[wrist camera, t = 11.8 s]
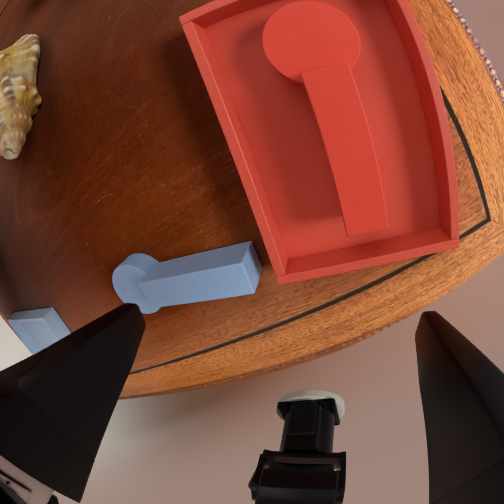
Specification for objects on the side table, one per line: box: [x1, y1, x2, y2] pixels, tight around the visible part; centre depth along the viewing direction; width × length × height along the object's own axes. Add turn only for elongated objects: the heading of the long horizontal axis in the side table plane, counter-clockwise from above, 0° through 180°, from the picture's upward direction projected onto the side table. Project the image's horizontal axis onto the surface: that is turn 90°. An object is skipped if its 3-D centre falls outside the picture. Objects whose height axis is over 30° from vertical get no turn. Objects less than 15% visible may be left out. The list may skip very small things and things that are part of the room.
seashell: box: [0, 34, 42, 159], centre depth 13 cm, size 9×8×10 cm
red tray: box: [179, 0, 459, 285], centre depth 12 cm, size 16×11×2 cm
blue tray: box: [8, 307, 71, 355], centre depth 32 cm, size 16×11×2 cm
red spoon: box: [262, 1, 389, 237], centre depth 12 cm, size 12×5×3 cm, turn 19°
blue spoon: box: [112, 241, 262, 314], centre depth 19 cm, size 12×5×3 cm, turn 109°
